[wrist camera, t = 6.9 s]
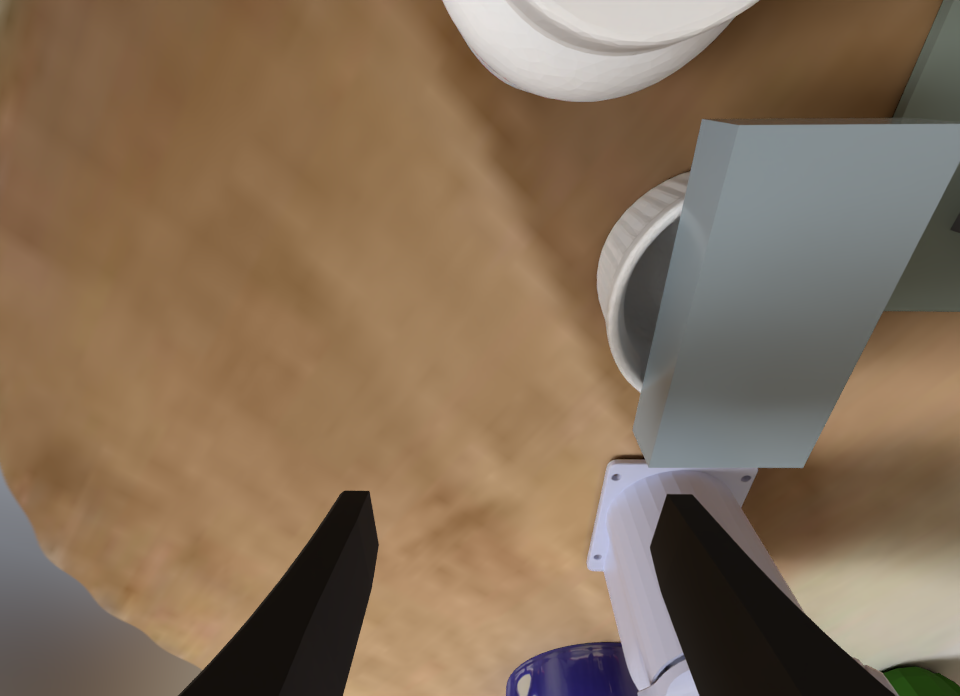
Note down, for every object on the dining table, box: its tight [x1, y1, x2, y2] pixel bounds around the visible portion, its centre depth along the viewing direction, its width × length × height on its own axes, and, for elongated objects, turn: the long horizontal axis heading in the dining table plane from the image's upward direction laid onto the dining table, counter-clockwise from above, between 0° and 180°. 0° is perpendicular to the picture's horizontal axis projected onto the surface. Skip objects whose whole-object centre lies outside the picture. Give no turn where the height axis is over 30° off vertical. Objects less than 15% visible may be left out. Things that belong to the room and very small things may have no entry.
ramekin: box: [597, 171, 691, 393], centre depth 17 cm, size 9×9×4 cm
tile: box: [633, 118, 960, 468], centre depth 14 cm, size 11×6×2 cm, turn 0°
